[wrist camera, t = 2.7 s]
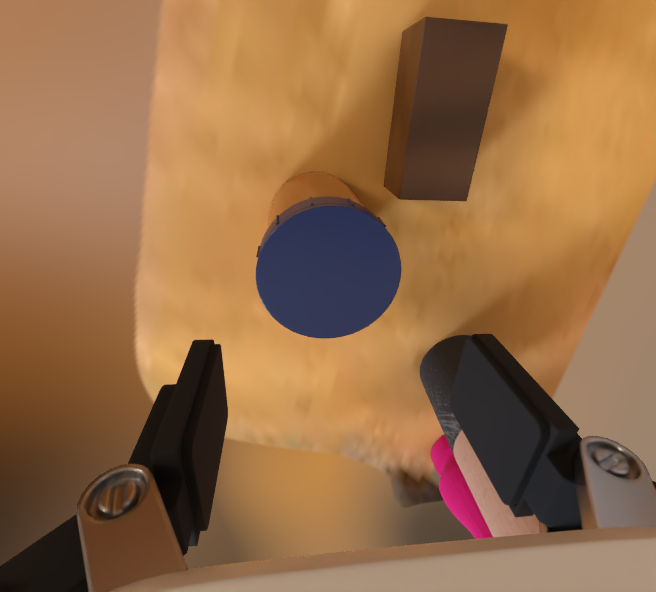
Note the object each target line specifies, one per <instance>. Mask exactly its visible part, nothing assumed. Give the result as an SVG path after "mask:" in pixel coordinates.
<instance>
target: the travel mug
mask: <svg viewBox="0 0 656 592" xmlns="http://www.w3.org/2000/svg"><path fill="white" fill-rule="evenodd" d="M470 338H471V336H467V335H462V336H455V337H451V338H448V339H445V340H443V341H441V342H440V343H438V344H436V345H435V346H434V347H433V348H432V349H430V350H429V352H428V353H427V354H426V355H425V357H424V358H423V361H422V363H421V366H420V377H421V380H422V383H423V385H424V388H425V390H426V393H427V395H428V397H429V400H430V402H431V404H432V406H433V409H434V411H435V413H436V416H437V418H438V420H439V423H440V425H441V427H442V430H443V432H444V434H445V436H446V439H447V441H448V443H449V446H450V448H451V450H452V453H453V455H454V457H455V459H456V462H457V464H458V466H459V468H460V470H461V472H462V474H463V476H464V478H465V480H466V482H467V484H468V486H469V488H470V490H471V492H472V495H473V497H474V499H475V501H476V503H477V505H478V507H479V509H480V511H481V513H482V515H483V517H484V519H485V521H486V523H487V526H488V528H489V530H490V532H491V534H492V536H493V537H503V536H515V535H526V534H537V533H540V529H539V521H538V519H537V518H536V516H535V514H534V515H533V516H526V517H515V516H514V514H513V513H512V511H511V509H510V507H509V506H508V505H505V504H504V503H503V502H502V501H501V499H500V497H499V496H498V494H497V492H496V490H495V488H494V487H493V485H492V483H491V481H490V479H489V477H488V476H487V474H486V472H485V470H484V468H483V467H482V465H481V463H480V461H479V459H478V458H477V456H476V454H475V452H474V450H473V449H472V447H471V445H470V443H469V441H468V440H467V438H466V436H465V434H464V432H463V431H462V429H461V427H460V425H459V423H458V422H457V420H456V418H455V416H454V414H453V413H452V411H451V408H450V403H449V400H450V396H451V392H452V389H453V385H454V381H455V378H456V374H457V371H458V367H459V364H460V360H461V356H462V353H463V349H464V346H465V342H466V340H467V339H470Z"/></svg>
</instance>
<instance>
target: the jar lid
mask: <svg viewBox="0 0 656 592" xmlns="http://www.w3.org/2000/svg"><path fill="white" fill-rule="evenodd" d="M309 198H310V199H307V200H304V201H301V202H299V203H297V204H294V205H292V206H291V207H289V208H288V209H286V210H285V211H284V212H282V213H281V214H280V215H279V216H278V215H276V219H275V220H274V221H273V222H272V223H271V225H270V226H269V228H268V229H267V231H266V233H265V235H264V237H263V239H262V242H261V245H260V246H258V251H257V256H256V257H258V261H257V266H256V284H257V289H258V293H259V296H260V298H261V300H262V303H263V304H264V306H265V308H266V309H267V311H268V312H269V313H270V314H271V316H272V317H273V318H274V319H275V320H277V321H278V322H279V323H280V324H281V325H283V326H284V327H286V328H288V329H289V330H291V331H293V332H296V333H298V334H301V335H304V336H308V337H314V338H336V337H342V336H346V335H349V334H352V333H355V332H357V331H360V330H362V329H363V328H365V327H367V326H369V325H370V324H371V323H373V322H374V321H375V320H377V319H378V318H379V317H380V316H381V315H382V314H383V313H384V312H385V310H386V309H387V308H388V307H389V305H390V304H391V302H392V300H393V298H394V297H395V295H396V292H397V289H398V286H399V282H400V277H401V260H400V255H399V251H398V248H397V246H396V243H395V242H394V240H393V238H392V236H391V235H390V233H389V232H388V231H387V229H386V228H385V226H386V225H385V224H384V223H383V222H382V220H381V219H380V218H379V217H378V218H377V217H376V216H375V215H374V214H373V213H372V212H371V211H369V210H368V209H367V208H365V207H364V206H362V205H360V204H358V203H357V202H354V201H351V199H350V198H348V199H345V198H341V197H332V196H324V197H315V198H312V197H309Z"/></svg>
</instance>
